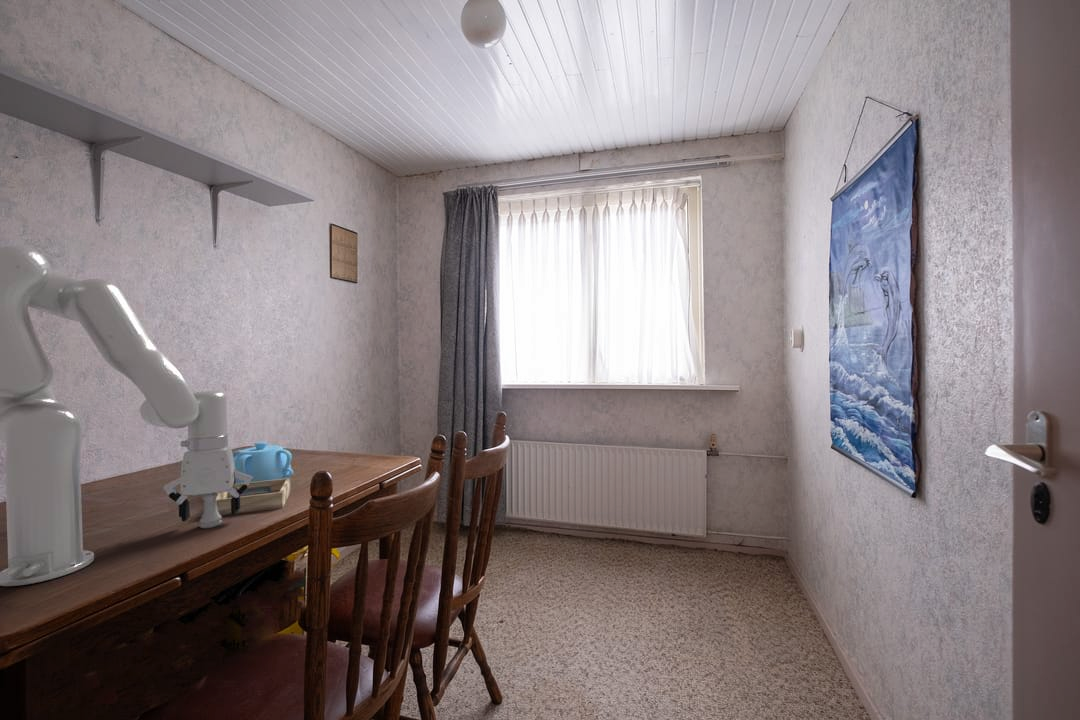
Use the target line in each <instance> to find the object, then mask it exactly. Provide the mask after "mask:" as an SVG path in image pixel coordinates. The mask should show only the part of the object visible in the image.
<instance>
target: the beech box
mask: <svg viewBox="0 0 1080 720" xmlns="http://www.w3.org/2000/svg"><path fill="white" fill-rule="evenodd" d="M242 485H243V483H239V484H235V486H237V487H238V488H240V487H241V486H242ZM265 485H271V490H272V493H268V494H259V495H250V496H242V497H240V510H238V512H237V513H236V514H235V515H238V514H244V513H246V514H247V513H253V512H259V511H260V512H261V511H269V510H277V509H283V508H284V506H285V503H287V499H288V498H289V496H290V494H291V477H288V478H285V479H276V480H267V481H257V482H250V484H249V486H248V487H256V486H265ZM231 498H232V495H231V494H230V493H229V492H228V491H226V492H221V493H218V496H217V497H216V500H217V502H216V504H217V510H218V513H219V515H221V517H223V516H230V515H231Z"/></svg>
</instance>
